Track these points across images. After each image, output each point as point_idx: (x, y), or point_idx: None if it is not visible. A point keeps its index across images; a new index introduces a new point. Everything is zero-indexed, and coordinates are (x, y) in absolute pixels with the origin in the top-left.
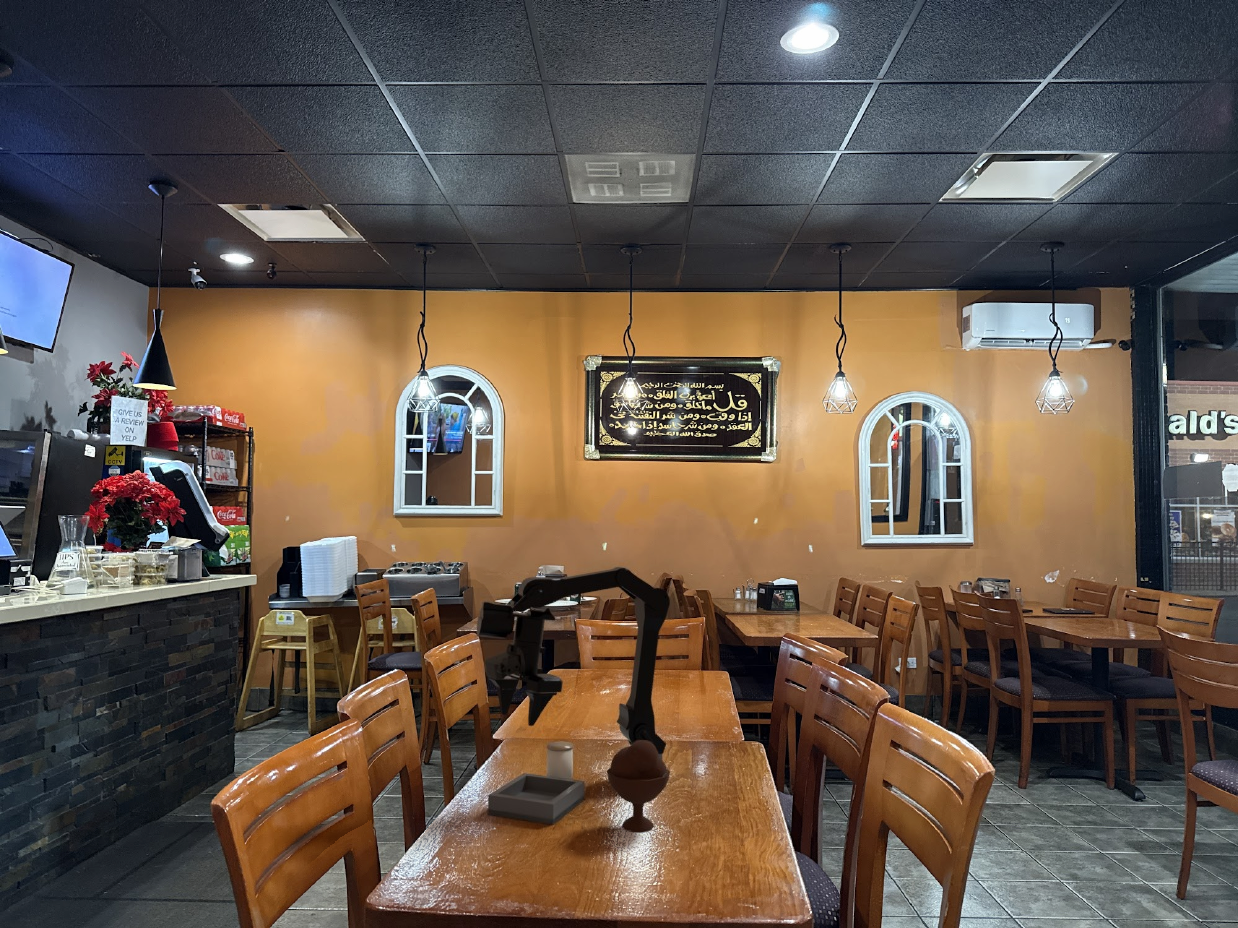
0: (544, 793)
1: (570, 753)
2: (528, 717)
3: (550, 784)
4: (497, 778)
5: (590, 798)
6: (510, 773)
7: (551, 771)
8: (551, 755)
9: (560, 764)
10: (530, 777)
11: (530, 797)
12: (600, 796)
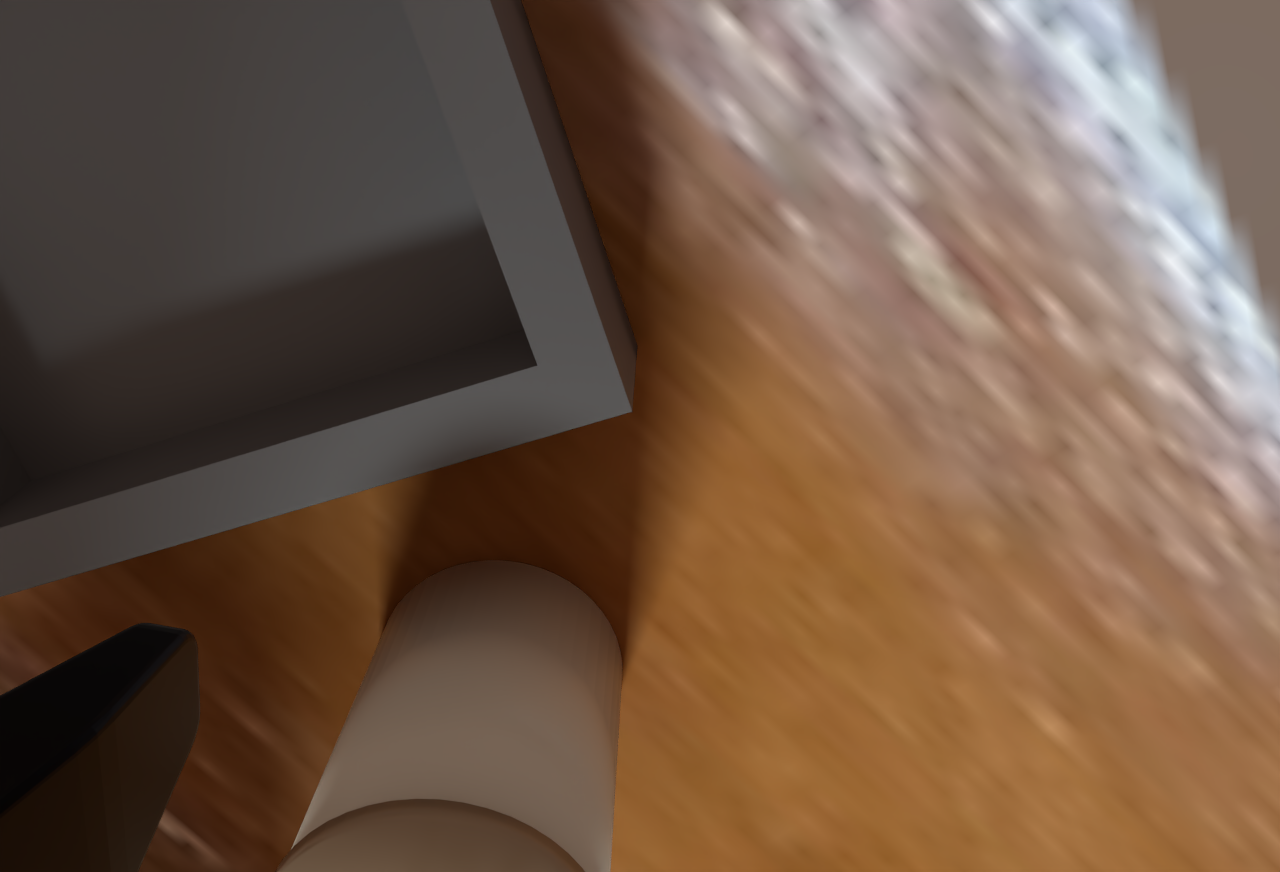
0: (296, 330)
1: None
2: (65, 729)
3: (266, 429)
4: (1139, 456)
5: None
6: (1126, 636)
7: (459, 648)
8: (432, 758)
9: (349, 735)
10: (492, 375)
11: (297, 139)
12: (13, 669)
